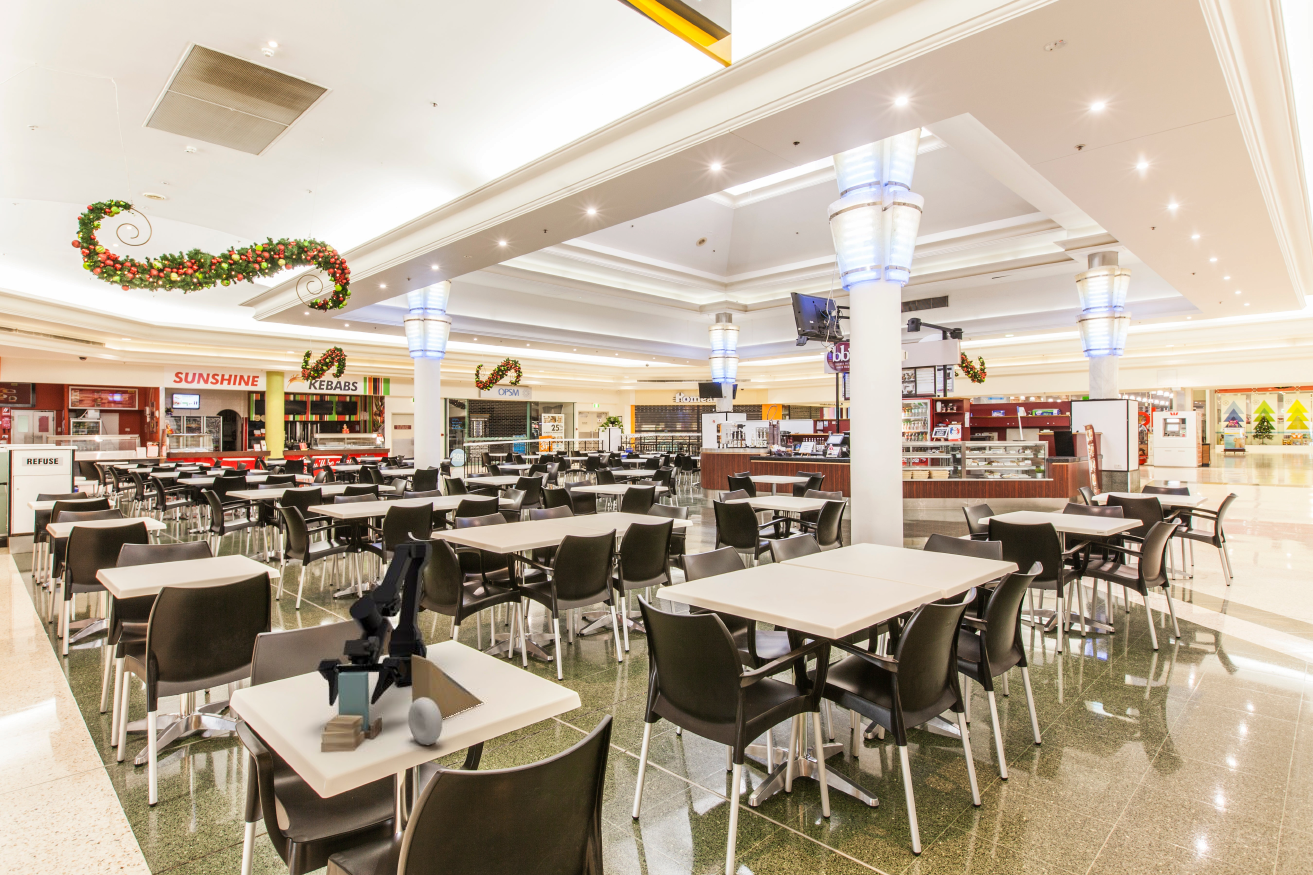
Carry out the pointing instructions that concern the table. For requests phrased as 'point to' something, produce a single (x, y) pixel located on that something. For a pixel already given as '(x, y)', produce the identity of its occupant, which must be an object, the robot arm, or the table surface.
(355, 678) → the teal rectangular block
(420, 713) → the donut
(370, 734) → the rack
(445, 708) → the sandwich container
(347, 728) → the offcut stack
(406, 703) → the table surface
